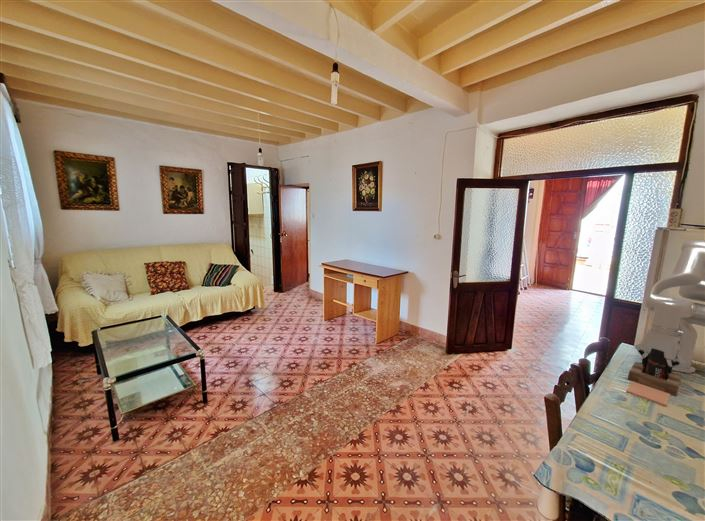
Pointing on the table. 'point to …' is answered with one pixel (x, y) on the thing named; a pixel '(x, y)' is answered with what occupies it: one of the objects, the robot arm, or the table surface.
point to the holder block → (654, 379)
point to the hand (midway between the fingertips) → (655, 369)
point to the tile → (648, 393)
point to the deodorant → (656, 364)
